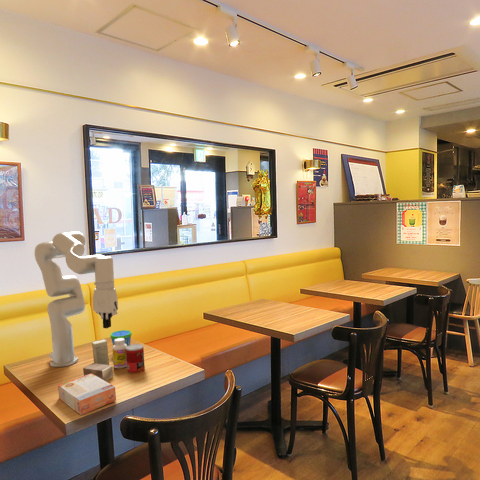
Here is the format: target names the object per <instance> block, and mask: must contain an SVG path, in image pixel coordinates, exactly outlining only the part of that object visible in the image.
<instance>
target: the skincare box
mask: <svg viewBox="0 0 480 480" xmlns="http://www.w3.org/2000/svg"><path fill="white" fill-rule="evenodd" d="M91 345H92V355H93V356H92V357H93V363H96V364H103V365H110V359H109V357H110V356H109V347H108V341H107V340H106V339H105V338H104V339H99V340H95V341H92V342H91Z"/></svg>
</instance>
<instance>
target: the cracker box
mask: <svg viewBox="0 0 480 480" xmlns="http://www.w3.org/2000/svg"><path fill="white" fill-rule="evenodd" d="M57 391H58V392H57V393H58V399H59V400H61V401H62V402H64V403H65V404H66V405H67V406H69V407H70V408H71V409H73V410H74V411H75V412H76V413H78V414H79V415H80V416H83V415H86V414H87V413H89V412H92V411H95V410H96V409H98V408H101V407H102V408H103V406H106V405H107V406H108V405H110V404H111V403H113V402H116V401H117V394H116V386H115V385H113V384H111V383H109V382H108V381H104V380H102V379H101V378H99V377H97V376H95V375H94V374H92V373H91V374H88V375H85V376H84V375H82V376H80V377H77V378H74V379H71V380H68V381H66V382H62V383H60V384H58V385H57Z"/></svg>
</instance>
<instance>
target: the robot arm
mask: <svg viewBox="0 0 480 480" xmlns="http://www.w3.org/2000/svg"><path fill="white" fill-rule="evenodd" d="M85 246H86V237H85V236H84V234H83V233H82V232H80V231H68V232H58V233H56V234H55V235H54V236H53V238H52V240H51V241H44V242H40V243H38V244H37V245H35V248H34V259H35V261H36V263H37V266H38V267H39V270H40V271H41V275H42V279H43V283H44V288H45V292H46V294H47V296H48V297H50V298H56V297H62V296H68V297H62V298H58V299H54V300H52V301H50V302H49V303H48V305H47V307H46V311H47V314H48V315H47V316H48V318H49V324H50V332H51V343H52V344H51V345H52V351H51V352H50V354H49V355H48V358H50V359H51V361H50V362H49V364H50V366H51V367H54V368H63V367H67V366H71V365H74V364H76V363H77V362H78V361H79V357H78V356H76V355H75V347H74V346H75V345H74V331H73V325H72V323H71V322H70V320H69V319H68V318H70V317H73V316H77V315H81V314H82V313H83V312H84V311H85V309H86V303H85V302H86V300H85V298H84V294H83V290H82V286H81V283H80V280H79V279H78V277H77V276H75V275H73V274H69V275H63V274H62V270H61V267H60V265H59V264H58V263H57V262H56V261H55V260H53V259H59V258H65V263H66V265H67V267H68V269H69V270H71V271H72V272H74V273H75V274H77V275H87V274H93V273H94V283H93V285H94V286H95V288H94V290H93V296H92V307H93V308H92V309H93V311H94V312H95V314H98V315H99V316H100V319H101V320H102V329H106V330H107V329H109V328H111V327H112V320H111V319H112V318H113V316H116V315H118V309H119V302H118V294H117V290H116V288H115V277H114V275H115V274H114V273H115V272H114V260H113V258H112V257H111V256H108V255H107V256H105V255H103V254H93V255H92V254H91V255H85V256H83V255H84V254H85Z"/></svg>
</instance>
